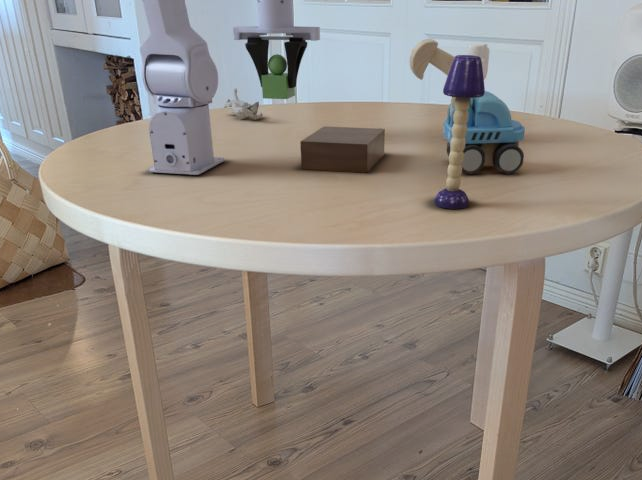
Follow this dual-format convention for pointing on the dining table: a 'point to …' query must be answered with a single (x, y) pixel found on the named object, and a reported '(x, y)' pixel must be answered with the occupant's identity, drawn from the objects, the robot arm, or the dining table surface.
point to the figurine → (480, 55)
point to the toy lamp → (460, 123)
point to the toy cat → (243, 108)
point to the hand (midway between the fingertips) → (278, 87)
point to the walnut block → (343, 149)
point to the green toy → (276, 80)
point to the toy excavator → (476, 119)
